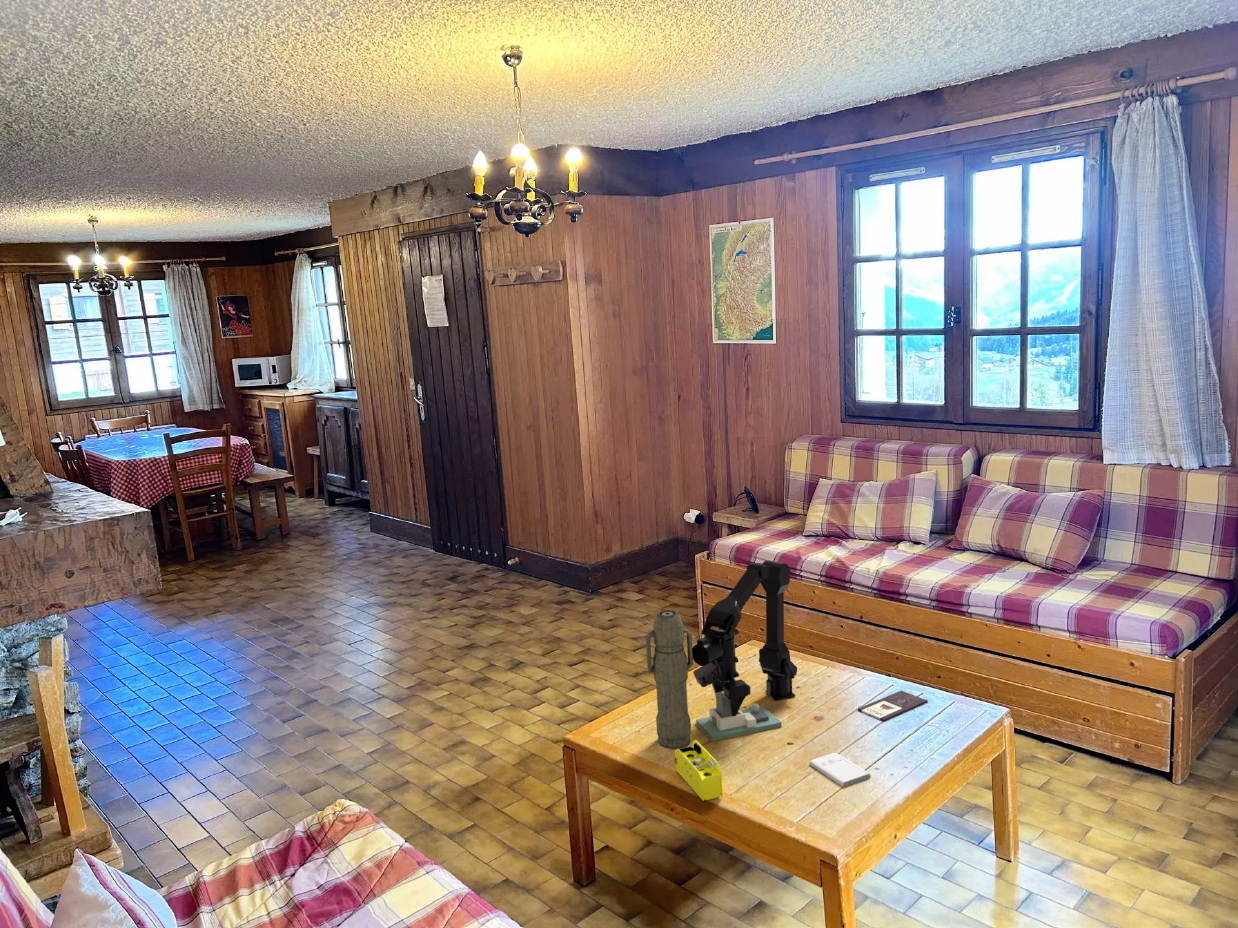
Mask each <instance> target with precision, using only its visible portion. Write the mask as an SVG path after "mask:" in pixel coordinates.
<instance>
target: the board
mask: <svg viewBox="0 0 1238 928" xmlns="http://www.w3.org/2000/svg"><path fill="white" fill-rule="evenodd" d="M750 706H751V708H747V709H742V710H740V709H739V711H738V713H737V715H736V716H729V717H724V718H721V717H720V716H719V715H718V714H717V710H716V707H712V708H709V709H708V711H709V712H708V713H709V716H708V717H701V718H698V719H697V718H696V719H695V725H697V726H698V728H700V729H701V731H703V733H704V734H705V735H706V736H707V737H708V738H709V739H710V740H711V741H712V742H715V741H719V740H720V741H721V740H723V739H729V738H734V737H738V736H742V735H743V736H744V735H747V734H753V733H757V732H762V731H767V730H771V729H776V728H781V727H783V726H782V724H783V723H782V721H781V720H779V719H778V718H777V717H776V716H775V715H774V714H773V713H772V712H770V711H769V710H768V709H767V708H765V706H763V705H761V706H760V705H759V704H758V703H752V704H750Z"/></svg>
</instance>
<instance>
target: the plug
mask: <svg viewBox="0 0 1238 928" xmlns="http://www.w3.org/2000/svg"><path fill="white" fill-rule="evenodd" d="M724 694H725V693H724V691H721V692H717V693H716V695H715V703H716V705H715V706H716V707H715V708H716V710H717V714H718V715H719V716H720V717H721V718H724V717H729V716H732V713H731V709H730V703H729V699H728V698H727V697H726V696H725V695H724Z"/></svg>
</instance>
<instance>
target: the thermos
mask: <svg viewBox="0 0 1238 928" xmlns="http://www.w3.org/2000/svg"><path fill="white" fill-rule="evenodd" d="M652 625H653V629H652V630H651V631H649V632H648V633H647V634H646V637H645V650H646V664H647V671H648V673H652V674H653V679H654V681H655V687H656V703H657V705H656V707H657V714H656V717H655V722H656V735H657V743H658V745H659V746H660V747H661V748H663V749H668V750H677V749H682V748H686V747H689V745H691V742H692V739H691V734H692V725H691V724H692V723H691V722H692V721H691V717H690V714H689V708H688V706H689V705H688V691H687V690H688V687H687V680H688V678H689V673H688V672H689V669H691V667H692V666H693V665H694V660H693V653H692V648H693V636H692V633H691V632H690V630H689V629H688V628H686V627H684V624H683V621H682V618H681V615H680V613H679V612H677V611H675V610H671V609H670V610H661V611H660V612H657V613H656V614H655V617H654V620H653V624H652ZM685 634H686V645H687V646H686V647H687V648H686V649H687V654H686V651H685V646H684V643H685V642H684V641H685V639H684V638H685V637H684V635H685ZM651 638H653V639H654V641H653V642H654V645H655V646H654V652H653V653H654V654H653V658H652V650H651V649H652V648H651Z"/></svg>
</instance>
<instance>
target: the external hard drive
mask: <svg viewBox="0 0 1238 928" xmlns="http://www.w3.org/2000/svg"><path fill="white" fill-rule="evenodd" d="M809 766H811V767H813V768H815V770H817V771H818V772H820V773H821V774H823V775H824V776H826V777H828V778H829V779H830V780H832V781H833V782H835V783H836V784H837V785H839V786H841V787H842V788H844V787H847V786H850V785H853V784H855V783H858V782H861V781H865V780H866V779H867V780H868V779H870V778H871V773H869V772H868V771H866V770H865V769H863V768H862V767H860V766H858V765H856V764H855V763H854V762H851V761H850V760H848V759H847V758H845V757H843V756H842V755H840V754H838V753H837V752H832V753H830V754H827V755H826V754H825V755H824V756H820V757H817V758H814V759H811V760H810V761H809Z"/></svg>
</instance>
